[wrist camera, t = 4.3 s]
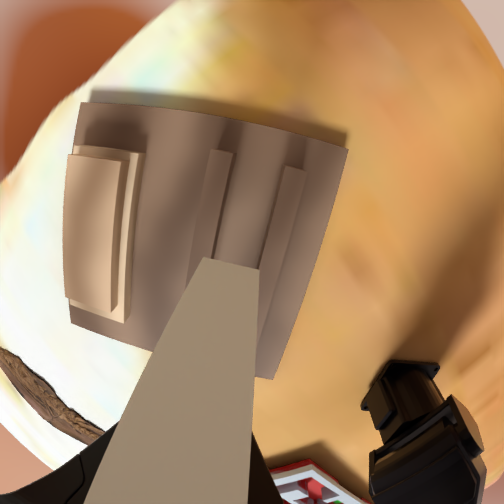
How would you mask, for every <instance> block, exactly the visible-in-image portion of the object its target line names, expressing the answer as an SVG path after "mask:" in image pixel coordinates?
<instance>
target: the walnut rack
mask: <svg viewBox="0 0 504 504" xmlns="http://www.w3.org/2000/svg"><path fill="white" fill-rule="evenodd" d="M74 145H89V146H98V147H106V148H114V149H121V150H128V151H135V152H142V153H146V157H145V163H144V169H143V175H142V181H141V188H140V195H139V202H138V210H137V218H136V227H135V237H134V248H133V261H132V276H131V297H130V316H129V317H128V319H127V320H126V321H125V323H120V322H117V321H114V320H112V319H109V318H106V317H103V316H100V315H97V314H94V313H92V312H89V311H86V310H83V309H81V308H78V307H75V306H73V305H70V300H69V309H70V318H71V323H72V324H75V325H77V326H80V327H82V328H85V329H87V330H90V331H93V332H95V333H98V334H101V335H104V336H106V337H109V338H112V339H115V340H118V341H121V342H124V343H127V344H130V345H133V346H136V347H139V348H142V349H145V350H148V351H152V352H153V351H154V349H155V347H156V345H157V343H158V341H159V339H160V337H161V335H162V333H163V331H164V329H165V327H166V325H167V323H168V321H169V320H170V318H171V316H172V314H173V312H174V310H175V308H176V306H177V304H178V302H179V301H180V299H181V297H182V295H183V293H184V291H185V289H186V287H187V286H188V284H189V282H190V280H191V278H192V276H193V275H194V273H195V271H196V269H197V267H198V265H199V264H200V262H201V260H202V258H203V257H206V258H210V259H215V260H219V261H223V262H227V263H232V264H236V265H240V266H245V267H249V268H253V269H258V270H260V273H259V295H258V317H257V338H256V359H255V377H260V378H265V379H271V380H273V378H274V375H275V373H276V371H277V368H278V365H279V363H280V360H281V358H282V355H283V353H284V350H285V347H286V345H287V342H288V340H289V337H290V334H291V332H292V329H293V326H294V323H295V321H296V318H297V315H298V312H299V310H300V307H301V304H302V301H303V298H304V295H305V293H306V290H307V287H308V284H309V281H310V278H311V275H312V272H313V269H314V266H315V263H316V260H317V257H318V254H319V251H320V247H321V244H322V241H323V238H324V235H325V231H326V228H327V225H328V221H329V218H330V215H331V211H332V208H333V205H334V201H335V198H336V194H337V191H338V187H339V183H340V180H341V176H342V172H343V169H344V165H345V161H346V157H347V153H348V150H349V149H346V148H343V147H340V146H337V145H334V144H331V143H327V142H324V141H321V140H317V139H314V138H310V137H307V136H303V135H300V134H296V133H292V132H288V131H285V130H281V129H277V128H272V127H268V126H264V125H260V124H255V123H251V122H246V121H241V120H236V119H231V118H226V117H220V116H215V115H209V114H203V113H197V112H190V111H183V110H176V109H168V108H160V107H150V106H140V105H127V104H112V103H86V102H81V105H80V109H79V114H78V119H77V125H76V130H75V136H74V143H73V149H72V154H73V150H74Z"/></svg>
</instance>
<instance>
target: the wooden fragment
mask: <svg viewBox="0 0 504 504" xmlns="http://www.w3.org/2000/svg"><path fill="white" fill-rule="evenodd" d="M0 367H1V369H2V370H3V371H4V373H5V374H6V376H7V377H8V378H9V380H10V381H11V383H12V384H13V385H14V387H15V388H16V389H17V391H18V392H19V393H20V394H21V396H22V397H23V398H24V399H25V400H26V401H27V402H28V403H29V404H30V405H31V406H32V408H33V409H35V410H36V411H37V412H38V414H39V415H40V416H41V417H42V418H43V419H44V420H46V421H47V420H48V421H47V422H49V423H50V424H51V425H52V426H54V427H55V428H57V429H59V430H60V431H62V432H64V433H66V434H67V435H69V436H71V437H73V438H75V439H77V440H79V441H80V442H82V443H84V444H86V445H88V446H89V445H90V444H91V443H92V442H94V441H95V440H96V439H97V438H99V437H100V436H101V435H102V434H104V433H105V432H104V431H102V430H100V429H97V428H96V427H94V426H93V425H92V424H89V422H87V421H85V420H83V419H82V418H81V416H79V415H78V414H76V413H75V412H74V411H73V410H71V409H69V408H68V407H67V406H66V405H65V404H64V403H63V402H61V401H60V400H59V398H57V395H56V394H55V393H54V392H53V391H52V389H51V388H50V387H49V386H48V385H47V384H46V383H45V382H44V381H43V380H41V379H39V378H38V377H37V376H36V375H35V374H33V373H32V372H31V371H30V370H28V369H27V367H26V366H25V365H24V364H23V363H22V361H21V360H20V359H19V358H18V357H17V356H16V355H14V354H11V353H10V352H8V351H6V350H3V349H2V348H0Z"/></svg>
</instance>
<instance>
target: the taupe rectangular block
mask: <svg viewBox="0 0 504 504" xmlns="http://www.w3.org/2000/svg"><path fill="white" fill-rule="evenodd" d="M259 273H260V270H258V269H253V268H249V267H245V266H240V265H236V264H232V263H227V262H223V261H219V260H215V259H210V258H206V257H203V258H202V260H201V262H200V264H199V265H198V267H197V269H196V271H195V273H194V275H193V276H192V278H191V280H190V282H189V284H188V286H187V287H186V289H185V291H184V293H183V295H182V297H181V299H180V301H179V302H178V304H177V306H176V308H175V310H174V312H173V314H172V316H171V318H170V320H169V321H168V323H167V325H166V327H165V329H164V331H163V333H162V335H161V337H160V339H159V341H158V343H157V345H156V347H155V349H154V351H153V353H152V355H151V357H150V359H149V361H148V363H147V365H146V367H145V369H144V371H143V373H142V375H141V377H140V379H139V381H138V383H137V385H136V387H135V389H134V391H133V393H132V395H131V398H130V400H129V402H128V404H127V406H126V408H125V410H124V412H123V414H122V417H121V419H120V421H119V423H118V425H117V427H116V430H115V432H114V434H113V436H112V438H111V441H110V443H109V445H108V447H107V450H106V452H105V454H104V456H103V459H102V461H101V463H100V465H99V468H98V470H97V472H96V475H95V477H94V480H93V482H92V484H91V487H90V489H89V492H88V494H87V496H86V499H85V501H84V504H247V501H248V485H249V469H250V452H251V434H252V416H253V398H254V378H255V359H256V338H257V317H258V295H259Z"/></svg>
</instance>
